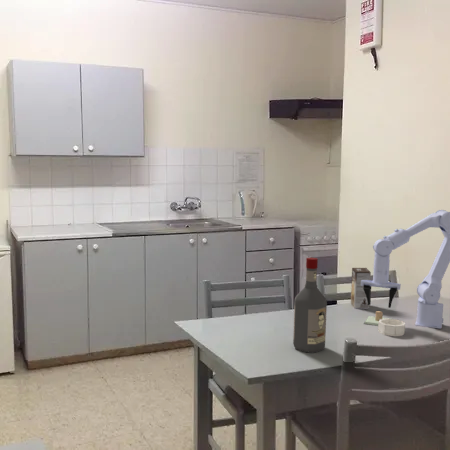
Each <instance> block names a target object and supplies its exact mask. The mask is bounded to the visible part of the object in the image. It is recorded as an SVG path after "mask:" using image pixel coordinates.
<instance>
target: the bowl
mask: <svg viewBox="0 0 450 450" xmlns="http://www.w3.org/2000/svg"><path fill="white" fill-rule="evenodd" d="M377 331H378V333H379V334H381V335H384V336H389V337H401V336H404V335H405V332H406V322H405V321H402V320H401V319H395V318H390V319H380V320H379V322H378V326H377Z"/></svg>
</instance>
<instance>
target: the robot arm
mask: <svg viewBox="0 0 450 450" xmlns="http://www.w3.org/2000/svg"><path fill="white" fill-rule="evenodd" d="M429 228H437V229H440V231H441V233H442V235H443V236H444V238H443V240H442V242H441V244H440V247H439V249H438V251H437V253H436V256H435V258H434V261H433V263H432V265H431V267H430V269H429V271H428V274H427V275H426V276H425V277H424V278H423V280H422V281H421V283H419V284H418V286H417V287H416V293H417V295H418V299H417V310H416V320H415V323H414V326H416V327H417V326H418V327H424V328H425V327H426V328H432V329H442V328H443V323H444V318H443V317H444V316H443V315H444V314H443V313H444V303H441V302H439V300H440V299H441V290H442V288H443V287H442V286H443V282H442V280H443V278H444V276H445V274H446V271H447V269H448V267H449V265H450V211H447V210H444V209H438V210H437V211H436V212H432V213H430V214H428V215H426V217H424V218H422V219H420V220H419V221H417V222H415V223H414V224H413V225H410V226H409V227H408V228H406V229H403V228H399V229H398V228H395V229H394V230H393V231H394V232H391V233H390V234H388V235H384V236H383V238H379V239H377V240H376V241H374V244H373V245H372V248H373V251H374V259H373V273H372V274H373V277H372V280H371V279H370V280H361V286H364V287H363V290H364V292H365V294H366V297H367V302H368V305H369V306H371V304H372V303H371V302H372V300H371V299H372V297H371V294H372V287H374V288H384V289H389V290H388V291H389V292H388V295H389V298H388V309H389V308H391V307H392V304H393V299H394V297H395V296H396V293H397V291H398V290H401V283H397V282H391V281H389V279H390V261H391V259H390V256H391V255H390V254H392V252H393V251H394V250H396V249H398V248H400V247H402V246H403V245H405V244H407V243H409V241H410V239H411V237H413V236H415V235H417V234H418V233H421V232H423V231H425V230H428V229H429Z"/></svg>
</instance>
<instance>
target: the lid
mask: <svg viewBox="0 0 450 450" xmlns="http://www.w3.org/2000/svg"><path fill="white" fill-rule="evenodd" d="M383 315H384V314H383V311H379V310H378V311H375V316H374V315H373V316H372V315H368V316H367V317H366V319H365V320H364V322H365V324H364V325H366V324H370V325H369V326H374V325H378V322H379V320H380V319H391V317H390V318H388V317H384V316H383Z"/></svg>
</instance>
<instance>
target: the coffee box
mask: <svg viewBox="0 0 450 450" xmlns="http://www.w3.org/2000/svg"><path fill="white" fill-rule="evenodd" d="M371 277H372V275H371V271H370V270H369V269H368V267H352V268H351V287H350V289H351V290H350V304H351V306H352V307H353V308H354V309H362V310H363V309H364V310H365V309H370V305H368V302H367V297H366V294H365V292H364V290H363V287H364V286H361V280H371Z"/></svg>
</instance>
